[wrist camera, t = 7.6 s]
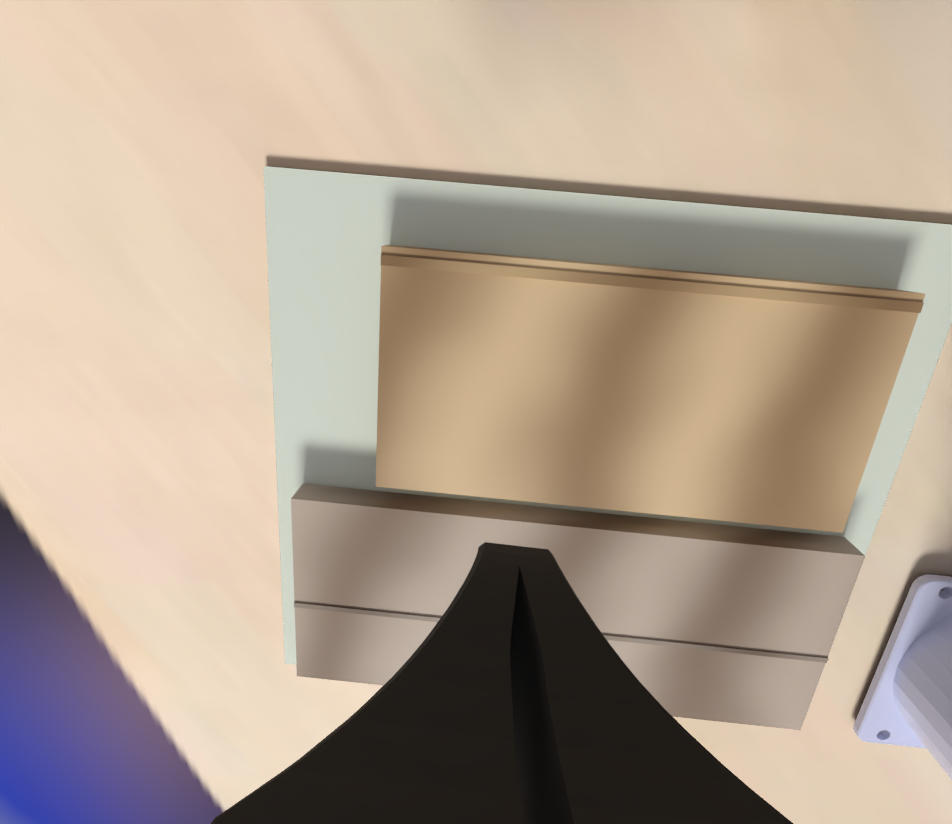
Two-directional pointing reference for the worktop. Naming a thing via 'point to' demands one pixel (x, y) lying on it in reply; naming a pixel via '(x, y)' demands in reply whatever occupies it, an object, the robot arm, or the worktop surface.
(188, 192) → the worktop surface
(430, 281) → the plank
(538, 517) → the floor board
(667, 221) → the underlay
